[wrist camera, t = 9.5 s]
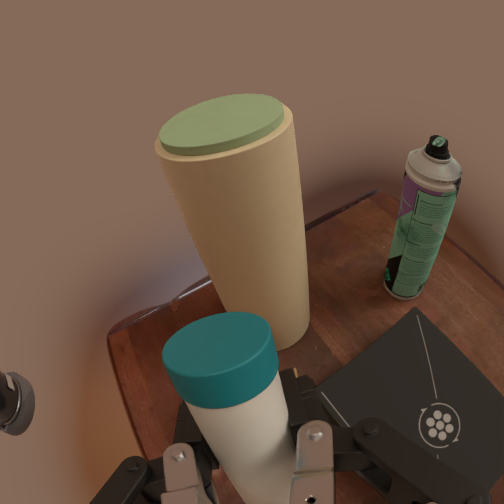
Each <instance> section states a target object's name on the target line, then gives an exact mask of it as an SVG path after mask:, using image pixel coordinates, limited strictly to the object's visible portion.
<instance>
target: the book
mask: <svg viewBox="0 0 504 504" xmlns="http://www.w3.org/2000/svg"><path fill="white" fill-rule="evenodd" d="M315 388H316V390H317V393H318V396H319V399H320V402H321V405H322V407H323V410H324V413H325V416H326V419H327V420H328V422H329V423H331V424H332V425H334V426H337V427H354V426H355V425H356V424H357V423H358V422H359V421H361V420H363V419H366V418H372V417H373V418H379V419H381V420H383V421H384V422H386V423H387V424H388V425H390V426H391V427H393V428H394V429H395V430H397V431H398V432H400V433H401V434H403V435H404V436H405V437H407V438H408V439H410V440H411V441H413V442H414V443H415V444H417V445H418V446H420V447H421V448H423V449H424V450H426V451H427V452H429V453H430V454H431V455H433V456H434V457H436V458H437V459H439V460H440V461H442V462H443V463H445V464H447V465H448V466H450V467H451V468H453V469H454V470H456V471H457V472H459V473H460V474H462V475H464V476H465V477H467V478H468V479H470V480H472V481H473V482H475V483H476V484H478V485H480V486H481V487H483V488H485V489H486V490H487V491H489V490H490V489H491V488H492V487H493V485H494V484H495V483H496V482H497V480H498V479H499V478H500V477H501V475H502V474H503V473H504V397H503V396H502V394H501V393H500V392H499V391H498V390H497V389H496V388H495V387H494V386H493V384H492V383H491V382H490V381H489V380H488V379H487V378H486V377H485V376H484V375H483V374H482V373H481V372H480V370H479V369H478V368H477V367H476V366H475V365H474V364H473V363H472V362H471V361H470V360H469V359H468V358H467V357H466V356H465V355H464V354H463V353H462V352H461V351H460V350H459V349H458V348H457V347H456V346H455V345H454V344H453V343H452V342H451V341H450V340H449V339H448V338H447V337H446V336H445V335H444V334H443V333H442V332H441V331H440V330H439V329H438V328H437V327H436V326H435V325H434V324H433V323H432V322H431V321H430V320H429V319H428V318H427V317H426V316H425V315H424V314H423V313H422V312H421V311H420V310H419V309H417V308H416V307H413V308H412V309H411V310H410V311H409V312H408V313H407V314H406V315H405V316H404V317H403V318H401V319H400V320H399V321H398V322H397V323H396V324H395V325H394V326H393V327H391V328H390V329H389V330H388V331H387V332H386V333H385V334H383V335H382V336H381V337H380V338H379V339H377V340H376V341H375V342H374V343H373V344H371V345H370V346H369V347H368V348H367V349H365V350H364V351H363V352H362V353H360V354H359V355H358V356H357V357H355V358H354V359H353V360H352V361H350V362H349V363H348V364H346V365H345V366H344V367H342V368H341V369H340V370H339V371H337V372H336V373H334V374H333V375H332V376H330V377H329V378H328V379H326V380H325V381H324V382H322V383H321V384H319V385H318V386H317V387H315Z"/></svg>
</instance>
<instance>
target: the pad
mask: <svg viewBox="0 0 504 504" xmlns="http://www.w3.org/2000/svg"><path fill="white" fill-rule="evenodd" d="M283 119H284V110H283V105H282V104H281V102H280V101H279V100H278V99H276V98H273V97H271V96H267V95H261V94H237V95H229V96H224V97H220V98H215V99H211V100H208V101H205V102H202V103H199V104H197V105H194V106H192V107H190V108H188V109H186V110H184V111H182V112H180V113H178V114H177V115H176V116H174V117H173V118H171V119H170V120H169V121H168V122H166V123H165V125H164V126H163V127H162V128H161V130H160V132H159V139H160V142H161V145H162V147H163V148H164V149H165V150H166V151H167V152H170V153H172V154H176V155H184V156H194V155H205V154H212V153H218V152H222V151H226V150H230V149H234V148H237V147H240V146H243V145H246V144H249V143H251V142H254V141H256V140H258V139H260V138H262V137H264V136H266V135H267V134H269V133H271V132H272V131H273V130H275V129H276V128H277V127H278V126H279V125H280V124H281V123H282V121H283Z"/></svg>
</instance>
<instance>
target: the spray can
mask: <svg viewBox="0 0 504 504" xmlns="http://www.w3.org/2000/svg"><path fill="white" fill-rule="evenodd" d="M461 174H462V169H461V166H460V165H459V163H458V162H457V161H456V160H455V159H453V158H452V155H451V153H450V152H449V150H448V141H447V140H446V139H445V138H444V137H442V136H438V135H433V136H431V137H430V140H429V144H427V145H425V146H424V147H423V148H421V149H416V150H413V151H412V152H410V153H409V155H408V160H407V162H406V167H405V175H404V181H403V187H402V194H401V199H400V205H399V211H398V216H397V221H396V226H395V231H394V236H393V241H392V245H391V250H390V254H389V258H388V262H387V266H386V270H385V274H384V281H383V282H384V287H385V289H386V290H387V292H388V293H389V294H390V295H391V296H393V297H394V298H396V299H399V300H404V301H407V300H412V299H415V298H416V297H418V296H419V295H420V293H421V291H422V290H423V287H424V285H425V283H426V280H427V278H428V276H429V273H430V271H431V268H432V266H433V263H434V261H435V258H436V256H437V253H438V251H439V248H440V245H441V242H442V240H443V237H444V234H445V231H446V228H447V225H448V222H449V219H450V216H451V213H452V210H453V207H454V203H455V200H456V197H457V193H458V190H459V186H460V182H461Z"/></svg>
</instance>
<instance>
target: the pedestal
mask: <svg viewBox="0 0 504 504" xmlns="http://www.w3.org/2000/svg"><path fill="white" fill-rule="evenodd" d="M282 105H283V104H282ZM283 110H284V119H283V121H282V123H281V124H280V125H279V126H278V127H277V128H276V129H275V130H273V131H272V132H271V133H269V134H267V135H266V136H264V137H262V138H260V139H258V140H256V141H254V142H251V143H249V144H246V145H243V146H240V147H237V148H234V149H230V150H226V151H222V152H218V153H212V154H205V155H194V156H184V155H176V154H172V153H170V152H167V151H166V150H165V149H164V148H163V147H162V145H161V142H160V139H159V136H158V138H157V140H156V142H155V152H156V154H157V157H158V159H159V161H160V164H161V166H162V169H163V171H164V173H165V176H166V178H167V181H168V183H169V186H170V188H171V190H172V193H173V195H174V197H175V200H176V202H177V205H178V207H179V209H180V211H181V214H182V216H183V218H184V221H185V223H186V225H187V227H188V230H189V232H190V234H191V237H192V239H193V241H194V243H195V245H196V248H197V250H198V252H199V254H200V256H201V259H202V261H203V263H204V265H205V267H206V270H207V272H208V274H209V276H210V278H211V280H212V282H213V285H214V287H215V289H216V291H217V293H218V295H219V297H220V299H221V301H222V303H223V306H224V308H225V310H226V312H248V313H253V314H256V315H259V316H261V317H262V318H264V319H265V320H266V321H267V322H268V323H269V325H270V327H271V330H272V334H273V338H274V343H275V347H276V351H280V350H283V349H286V348H288V347H290V346H292V345H293V344H295V343H296V342H297V341H299V340H300V339H301V338H302V336H303V335H304V334H305V332H306V330H307V328H308V325H309V321H310V307H309V288H308V271H307V256H306V242H305V229H304V219H303V218H304V217H303V206H302V195H301V185H300V175H299V166H298V157H297V148H296V140H295V131H294V124H293V116H292V112H291V111H290V109H289V108H288V107H287V106H285V105H283Z"/></svg>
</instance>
